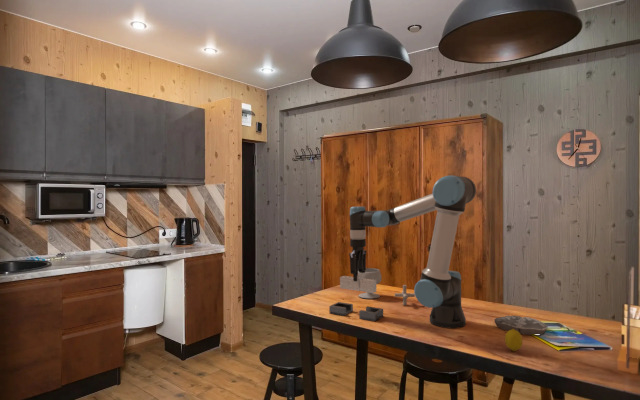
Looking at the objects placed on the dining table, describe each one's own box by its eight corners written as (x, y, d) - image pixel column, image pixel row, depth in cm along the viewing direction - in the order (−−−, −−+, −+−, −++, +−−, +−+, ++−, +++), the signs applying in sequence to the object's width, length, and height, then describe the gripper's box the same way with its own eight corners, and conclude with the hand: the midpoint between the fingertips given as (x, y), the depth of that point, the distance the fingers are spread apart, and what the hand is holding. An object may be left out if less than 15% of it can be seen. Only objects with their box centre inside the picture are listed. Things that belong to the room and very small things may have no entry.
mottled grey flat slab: (548, 327, 161) (548, 320, 161) (546, 340, 146) (546, 332, 146) (498, 319, 171) (498, 313, 171) (491, 330, 157) (491, 323, 157)
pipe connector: (413, 302, 201) (413, 283, 201) (416, 307, 191) (415, 287, 191) (394, 301, 202) (393, 283, 202) (396, 307, 192) (395, 287, 192)
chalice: (372, 301, 204) (371, 273, 204) (351, 296, 213) (351, 270, 213) (386, 296, 214) (386, 269, 214) (366, 292, 224) (366, 266, 224)
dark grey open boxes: (383, 316, 178) (383, 308, 178) (375, 321, 170) (375, 313, 170) (338, 308, 190) (338, 301, 190) (329, 313, 183) (329, 306, 183)
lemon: (504, 352, 135) (503, 329, 135) (506, 347, 139) (506, 325, 139) (521, 355, 131) (521, 332, 131) (523, 350, 136) (523, 328, 136)
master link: (376, 291, 180) (376, 279, 179) (373, 293, 177) (372, 281, 177) (343, 286, 190) (343, 275, 190) (340, 288, 187) (340, 277, 187)
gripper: (359, 236, 192) (359, 282, 192) (342, 239, 178) (342, 289, 178) (372, 237, 188) (373, 284, 188) (356, 240, 174) (356, 291, 174)
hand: (358, 286), depth 183 cm, fingers closed on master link, 3 cm apart
